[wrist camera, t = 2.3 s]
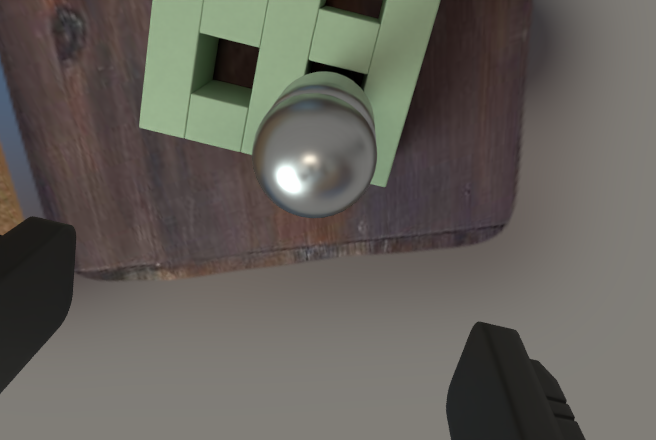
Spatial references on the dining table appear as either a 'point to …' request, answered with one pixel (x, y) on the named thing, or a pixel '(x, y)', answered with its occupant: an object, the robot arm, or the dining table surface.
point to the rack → (278, 64)
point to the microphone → (317, 145)
